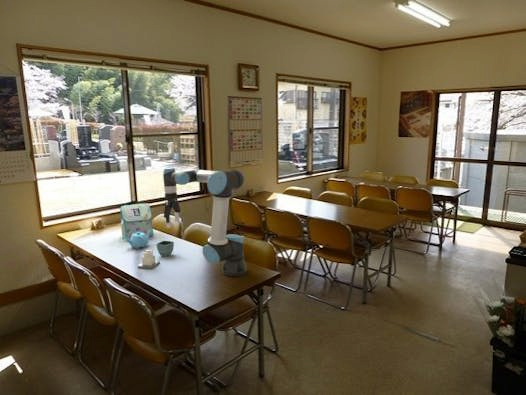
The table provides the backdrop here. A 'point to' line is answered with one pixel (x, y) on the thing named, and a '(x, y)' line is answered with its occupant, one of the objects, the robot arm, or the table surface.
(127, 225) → the lunch bag
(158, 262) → the hub
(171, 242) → the flower pot
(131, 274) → the table surface
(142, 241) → the teapot
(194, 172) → the robot arm
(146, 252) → the knob
